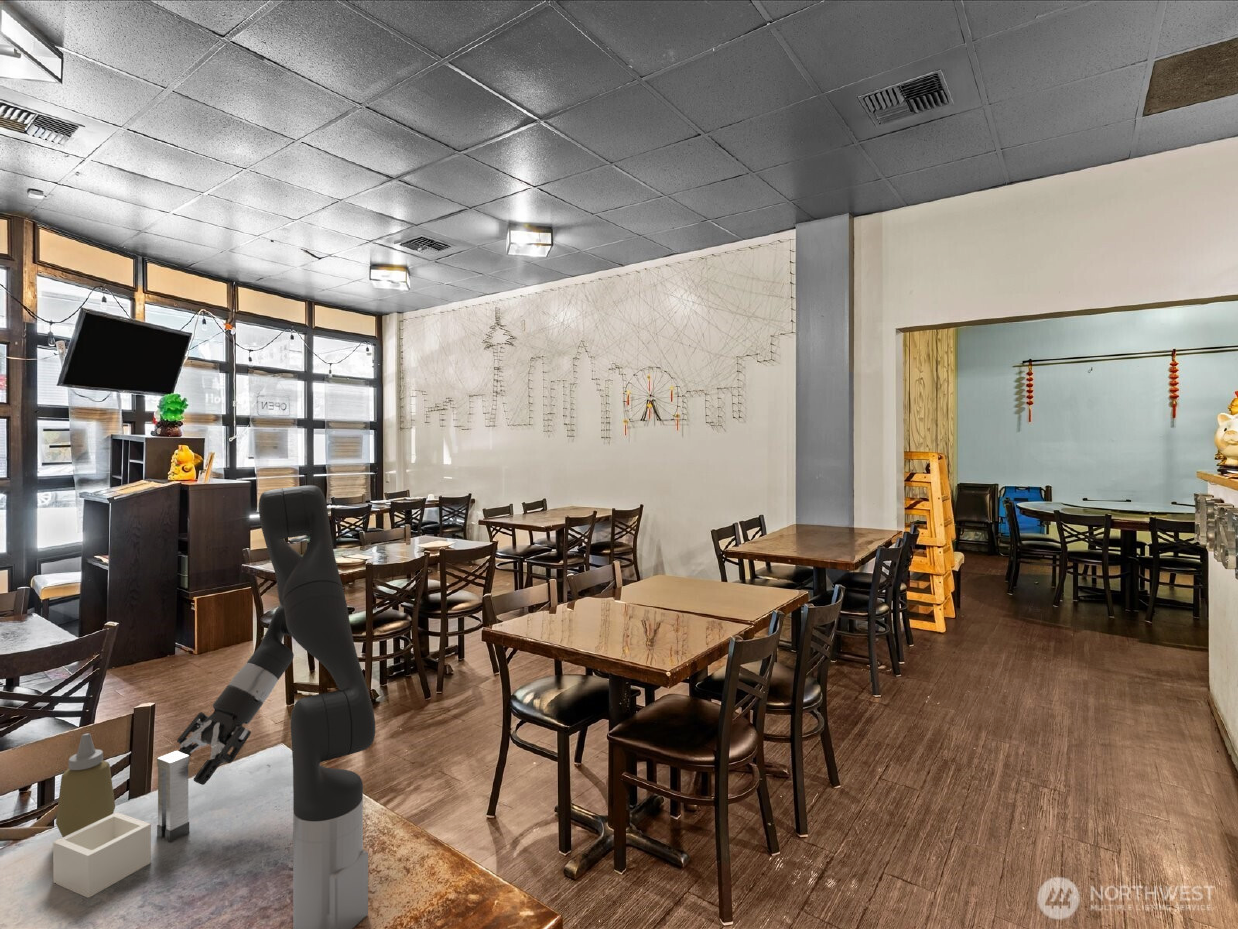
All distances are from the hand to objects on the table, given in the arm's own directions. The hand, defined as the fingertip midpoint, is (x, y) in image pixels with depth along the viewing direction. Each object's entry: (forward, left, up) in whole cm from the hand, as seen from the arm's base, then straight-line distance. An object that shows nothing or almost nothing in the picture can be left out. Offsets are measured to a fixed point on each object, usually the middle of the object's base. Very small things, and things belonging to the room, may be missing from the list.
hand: (184, 777), depth 113 cm
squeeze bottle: (+14, +8, -10) cm, 19 cm away
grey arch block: (0, +2, -9) cm, 10 cm away
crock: (0, +13, -9) cm, 16 cm away
